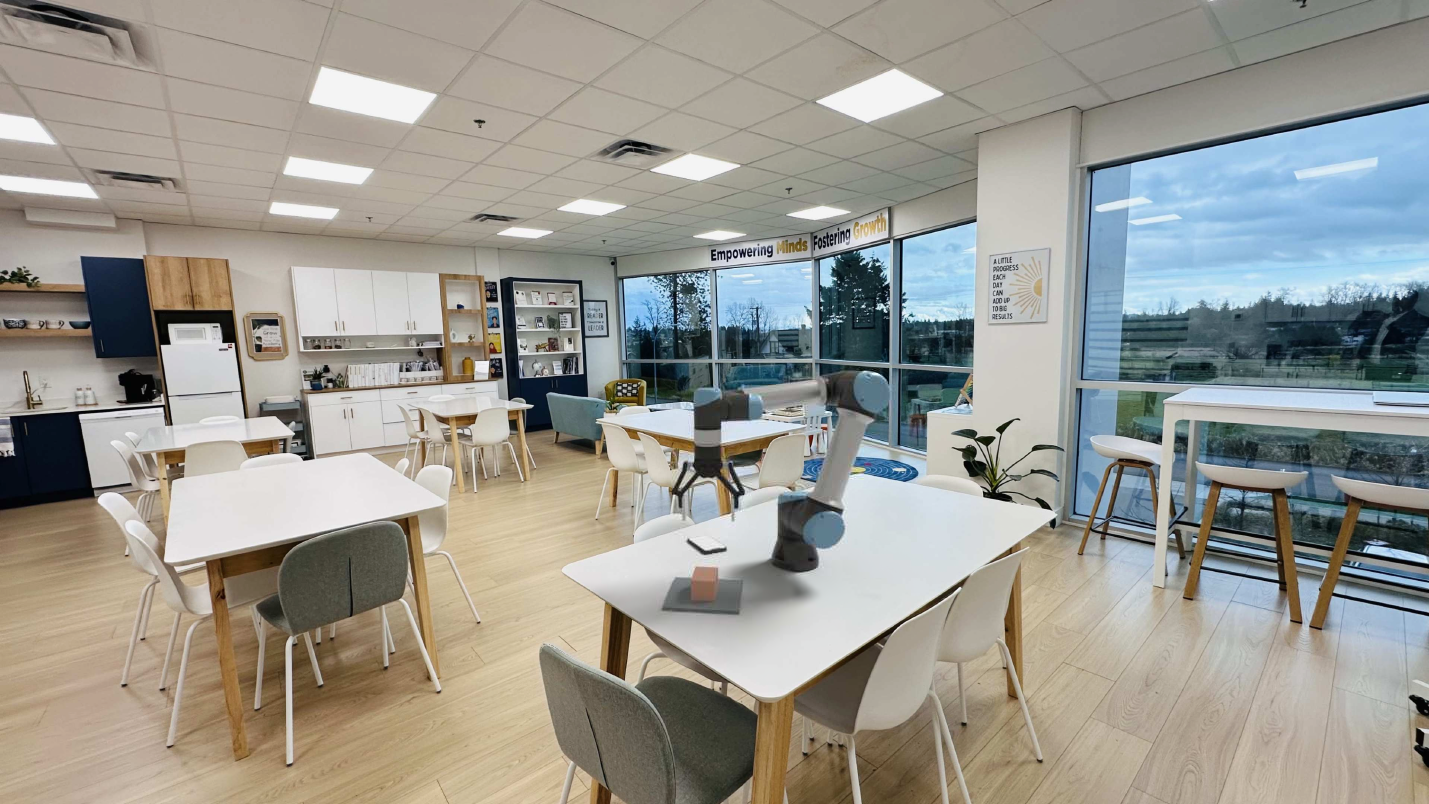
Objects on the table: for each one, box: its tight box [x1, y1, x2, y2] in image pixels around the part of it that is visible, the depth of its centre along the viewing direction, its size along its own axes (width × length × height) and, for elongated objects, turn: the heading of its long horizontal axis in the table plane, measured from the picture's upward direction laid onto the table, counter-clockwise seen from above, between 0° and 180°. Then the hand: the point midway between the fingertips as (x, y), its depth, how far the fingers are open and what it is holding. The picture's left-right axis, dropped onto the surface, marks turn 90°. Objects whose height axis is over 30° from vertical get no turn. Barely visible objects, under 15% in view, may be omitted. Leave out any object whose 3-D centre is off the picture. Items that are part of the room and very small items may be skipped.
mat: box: [662, 576, 744, 615], centre depth 155 cm, size 20×20×1 cm
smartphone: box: [687, 535, 728, 555], centre depth 195 cm, size 9×2×16 cm
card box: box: [691, 566, 719, 601], centre depth 154 cm, size 10×6×6 cm, turn 175°
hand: (708, 519), depth 155 cm, fingers open, 13 cm apart
